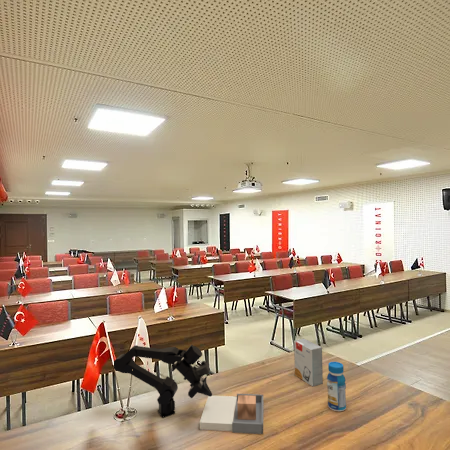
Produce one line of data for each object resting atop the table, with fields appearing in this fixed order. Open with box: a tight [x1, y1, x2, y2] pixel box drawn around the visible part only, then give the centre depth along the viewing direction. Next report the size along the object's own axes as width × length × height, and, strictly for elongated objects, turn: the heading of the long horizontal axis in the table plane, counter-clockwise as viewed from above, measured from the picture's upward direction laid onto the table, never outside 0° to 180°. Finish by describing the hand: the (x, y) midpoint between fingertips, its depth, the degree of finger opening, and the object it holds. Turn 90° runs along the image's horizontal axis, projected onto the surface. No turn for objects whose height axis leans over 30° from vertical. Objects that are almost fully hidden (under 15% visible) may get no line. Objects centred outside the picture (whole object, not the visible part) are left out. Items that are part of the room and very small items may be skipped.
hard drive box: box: [293, 338, 324, 387], centre depth 179 cm, size 16×8×20 cm, turn 25°
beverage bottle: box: [326, 361, 347, 412], centre depth 151 cm, size 8×8×20 cm
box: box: [231, 393, 265, 435], centre depth 146 cm, size 13×24×4 cm, turn 173°
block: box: [237, 395, 256, 420], centre depth 146 cm, size 7×7×8 cm
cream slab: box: [199, 395, 237, 432], centre depth 147 cm, size 14×22×3 cm, turn 173°
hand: (211, 395), depth 148 cm, fingers closed
